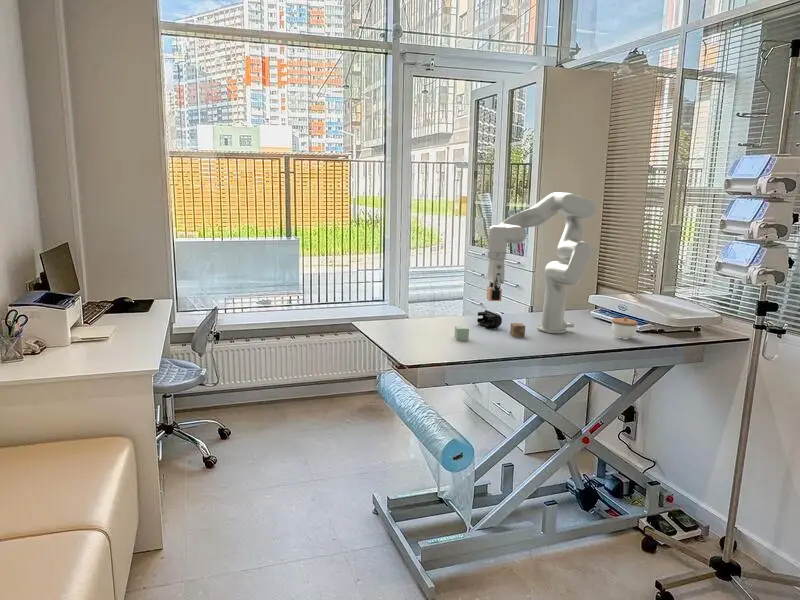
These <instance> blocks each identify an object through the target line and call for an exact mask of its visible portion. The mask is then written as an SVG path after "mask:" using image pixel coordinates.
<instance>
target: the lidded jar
mask: <svg viewBox="0 0 800 600" xmlns="http://www.w3.org/2000/svg"><path fill="white" fill-rule="evenodd" d="M638 326H639V322H638V321H637V320H635V319H632V318H631V319H630V318H628V317H627V316H624V317H615V318H612V320H611V330H612V333H613V335H614V336H615V337H616V336H617V337H621V338H630V339H631V338H633V337H634V336H635V335H636V332H637V329H638Z"/></svg>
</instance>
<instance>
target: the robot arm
mask: <svg viewBox="0 0 800 600" xmlns="http://www.w3.org/2000/svg"><path fill="white" fill-rule="evenodd" d="M596 212H597V204H596V203H595V201H594V200H592V199H591V198H587V197H585V196H584V197H583V196H582V195H578V194H575V193H572V192H560V191H559V192H557V191H556V192H555V191H554V192H552V193H550V194H548V195H547V196H544V198H542V199H541V200H539V202H537V203H536V204H534V205H533V206H531V207H529V208H527V209H525V210H522V211H520V212H517V213H515V214H513V215H510V216H509V217H507V218H505V220H503V221H502V222H501V223H499V224H498V225H490V227H489V229H488V239H487V240H488V241H487V258H486V259H488V270H487V281H489V285H488V287H493V290H492V300H499V299H500V288H501V287H502V286H501V285H503V284H504V283H505V260H506V256H507V246H508V245H507V244H521V243H523V242H524V241H525V240H526V238H527V231H526V229H527V228H534V227H537V226H542V225H543V224H545V223H546V222H548V221H549V220H550V219H551V218H552V217H554V216H555V215H558V214H559V213H562V215H563V219H564V229H563V231H562V232H563V233H561V237H560V239H559V242H558V244H557V247H556V251H555V253H556V256H557V257H558V258H559V259H561V260H565V261H568V262H565V261H560V260H553V261H549V262H548V263H547V264H546V265H545V267H544V273H543V274H544V295H543V307H542V318H541V324H540V325H538V326H537V330H539V331H540V332H543V333H547V334H555V333H556V334H565V333H566V332H567V328H574V327H575V324H574V322H573V323H572V322H571V323H570V322H566V321H565V310H566V303H567V302H566V301H567V287H566V286H568V287H574V286H577V285H578V284H579V283H580V282H581V280H582V279H583V276H584V274H585V271H586V269H587V267H588V264H589V261H590V259H591V255H592V248H591V245H590V244H589V243H588V242H587V241H585V240H582V239H583V237H584V232H585V225H584V221H583V220H589V219H591V218H593V217H594V216H595V215H596Z"/></svg>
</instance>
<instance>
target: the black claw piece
mask: <svg viewBox="0 0 800 600" xmlns="http://www.w3.org/2000/svg"><path fill="white" fill-rule="evenodd" d="M477 316H478V318H477V319H476V322H477V324H478V325H477V326H479V325H480V326H479V327H481V326H483V327H485V328H484V329H486V328H487V329H486V330H495V329H494V328H496V329H498V328H499V327H500V326H501V325H502V323H503V322H502V321H503V318H502V316H501V314H498V313H495V312H493V311H490V310H487V309H485V310H484V311H478V312H477ZM480 316H481V317H480ZM479 317H480V318H479ZM483 327H482V328H483Z"/></svg>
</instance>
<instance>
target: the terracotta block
mask: <svg viewBox="0 0 800 600" xmlns="http://www.w3.org/2000/svg"><path fill="white" fill-rule="evenodd" d="M492 290H493V287H489V286H487V287H486V299H487V300H488V301H489V302H501V301H502V294H503V292H502V291H503V290H502V288H501V287H500V299H499V300H492Z"/></svg>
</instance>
